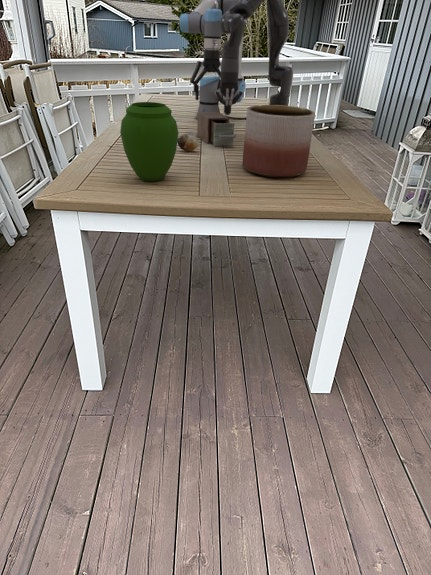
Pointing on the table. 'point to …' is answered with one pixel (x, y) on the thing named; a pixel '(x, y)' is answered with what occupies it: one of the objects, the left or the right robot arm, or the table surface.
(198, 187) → the table surface
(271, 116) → the planter
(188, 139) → the seashell
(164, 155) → the vase
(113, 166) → the table surface
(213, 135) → the drawer
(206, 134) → the long brown box
